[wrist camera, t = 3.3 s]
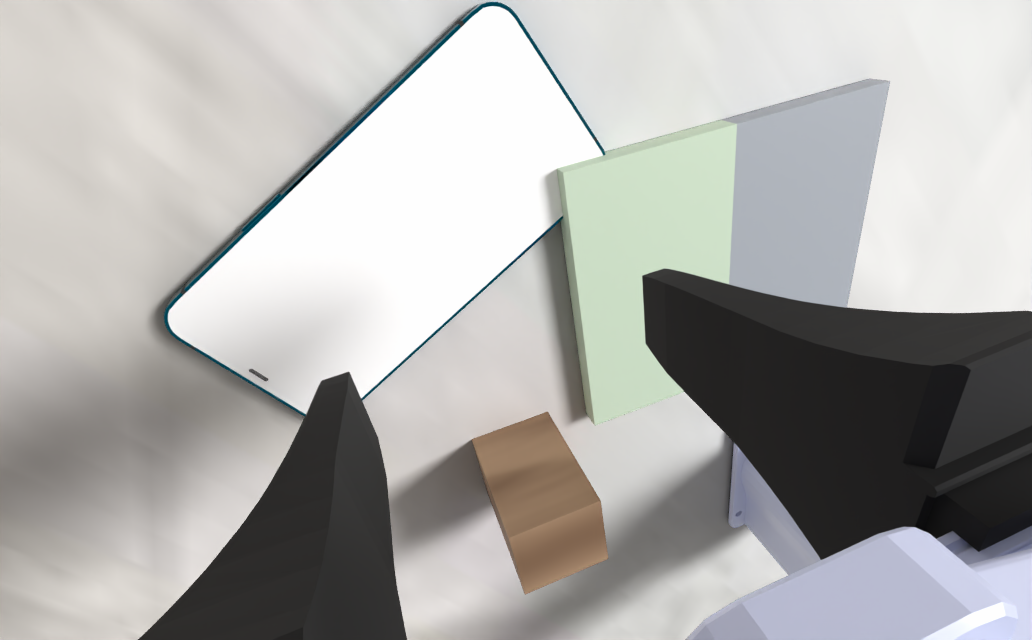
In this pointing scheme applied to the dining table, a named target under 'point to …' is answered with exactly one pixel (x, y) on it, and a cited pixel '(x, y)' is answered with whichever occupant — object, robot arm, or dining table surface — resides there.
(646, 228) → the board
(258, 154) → the dining table surface
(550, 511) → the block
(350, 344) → the smartphone
